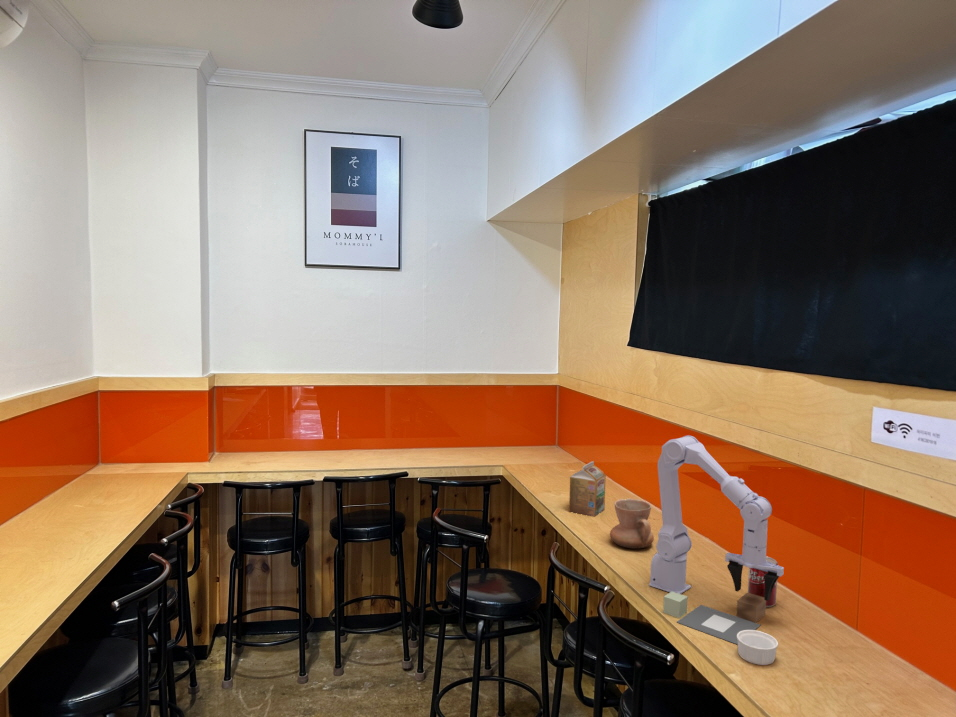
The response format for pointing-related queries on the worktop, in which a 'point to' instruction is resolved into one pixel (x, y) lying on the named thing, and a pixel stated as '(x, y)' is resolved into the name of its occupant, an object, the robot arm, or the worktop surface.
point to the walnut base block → (751, 607)
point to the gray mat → (717, 623)
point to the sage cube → (675, 604)
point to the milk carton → (587, 491)
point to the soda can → (761, 583)
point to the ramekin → (757, 647)
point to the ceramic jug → (632, 524)
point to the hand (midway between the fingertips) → (752, 594)
